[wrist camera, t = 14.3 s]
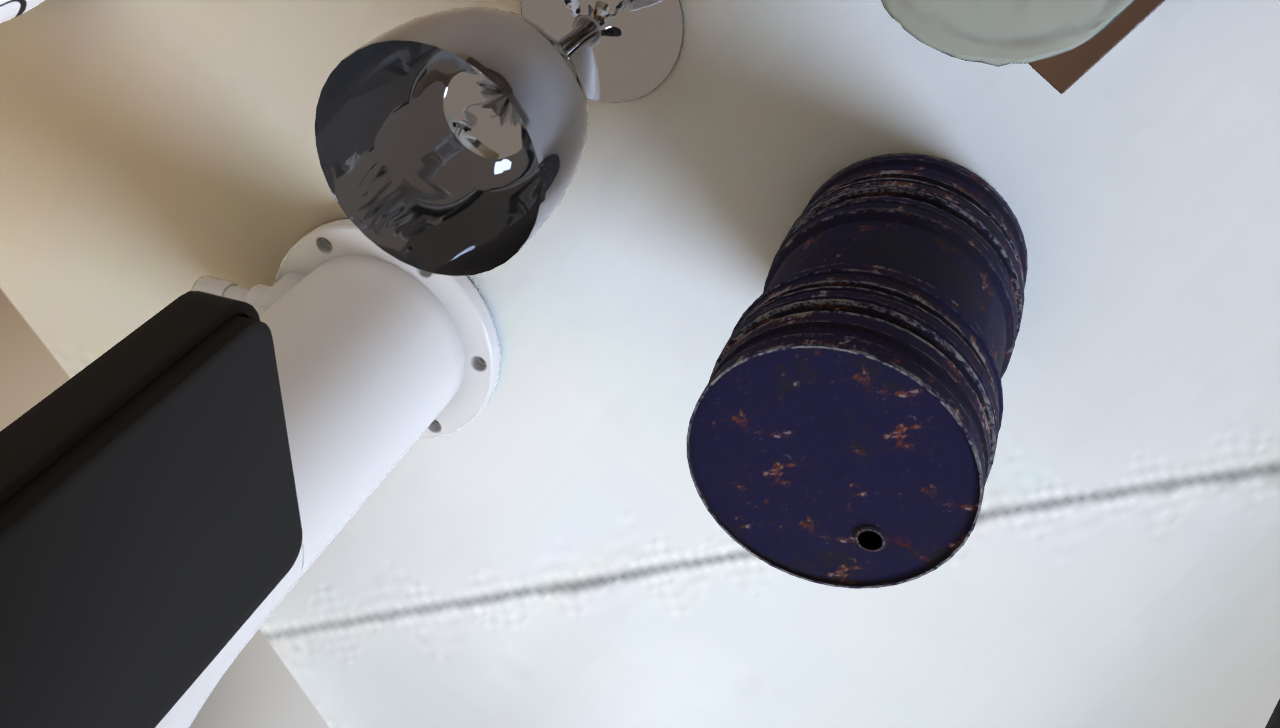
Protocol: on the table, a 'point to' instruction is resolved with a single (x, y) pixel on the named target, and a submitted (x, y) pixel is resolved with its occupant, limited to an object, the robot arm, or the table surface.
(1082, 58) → the step rack
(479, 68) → the wine glass
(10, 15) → the milk container
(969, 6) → the sauce bottle
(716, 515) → the dark blue cylinder
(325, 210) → the table surface
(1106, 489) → the table surface
